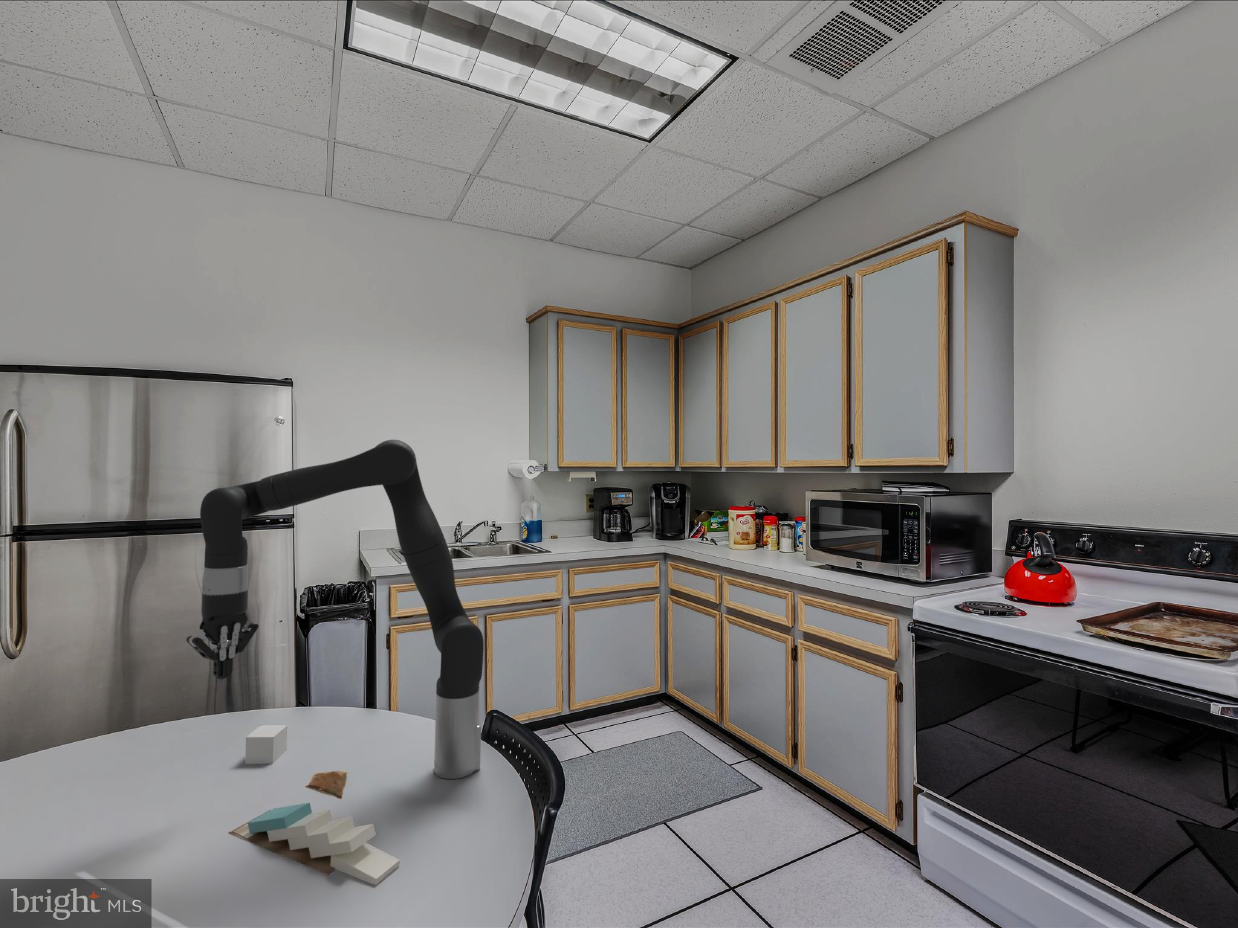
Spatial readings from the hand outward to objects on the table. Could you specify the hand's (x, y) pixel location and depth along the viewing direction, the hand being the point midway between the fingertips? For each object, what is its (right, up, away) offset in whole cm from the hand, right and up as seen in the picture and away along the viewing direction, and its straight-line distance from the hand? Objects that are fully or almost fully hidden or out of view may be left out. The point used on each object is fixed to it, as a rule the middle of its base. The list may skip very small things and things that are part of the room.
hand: (222, 677), depth 114 cm
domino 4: (+31, -24, -15) cm, 42 cm away
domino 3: (+26, -24, -13) cm, 38 cm away
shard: (+18, -26, +8) cm, 33 cm away
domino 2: (+22, -24, -11) cm, 34 cm away
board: (+21, -25, -11) cm, 34 cm away
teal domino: (+12, -24, -7) cm, 27 cm away
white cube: (-3, -25, +19) cm, 32 cm away
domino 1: (+17, -24, -9) cm, 31 cm away
